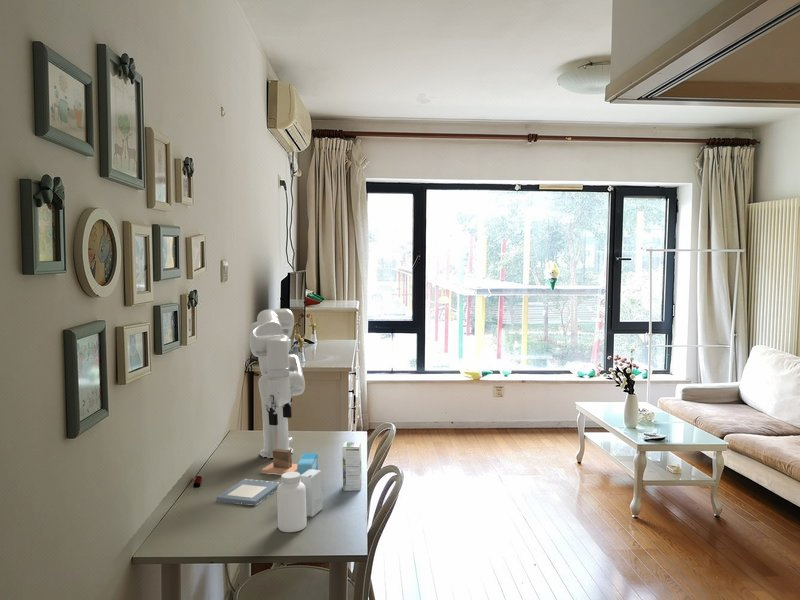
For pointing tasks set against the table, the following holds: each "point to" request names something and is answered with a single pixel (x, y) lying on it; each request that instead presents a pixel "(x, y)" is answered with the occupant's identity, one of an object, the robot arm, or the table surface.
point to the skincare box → (312, 491)
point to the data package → (307, 462)
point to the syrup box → (352, 466)
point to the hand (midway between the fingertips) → (280, 421)
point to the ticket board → (248, 492)
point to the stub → (281, 462)
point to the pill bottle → (291, 503)
